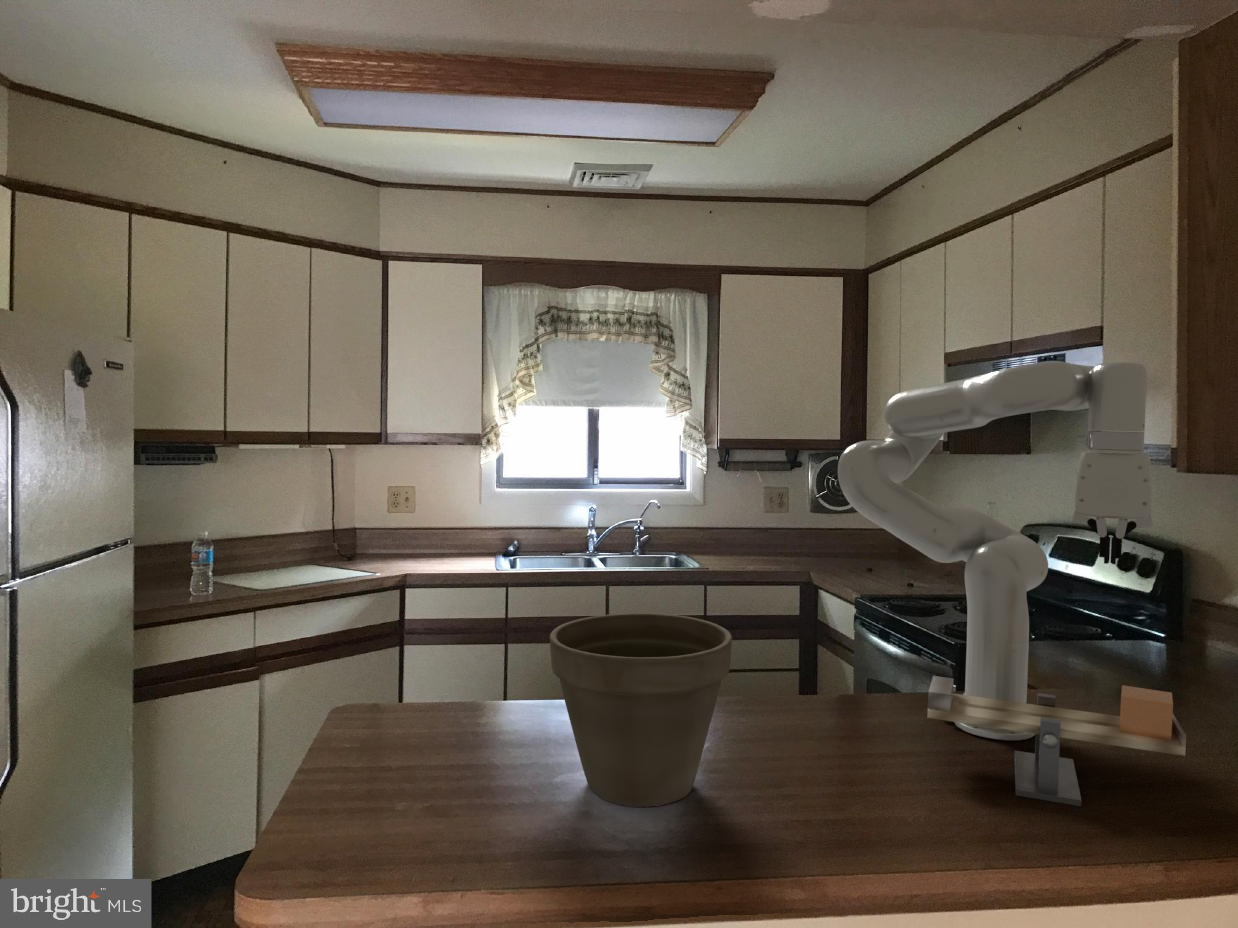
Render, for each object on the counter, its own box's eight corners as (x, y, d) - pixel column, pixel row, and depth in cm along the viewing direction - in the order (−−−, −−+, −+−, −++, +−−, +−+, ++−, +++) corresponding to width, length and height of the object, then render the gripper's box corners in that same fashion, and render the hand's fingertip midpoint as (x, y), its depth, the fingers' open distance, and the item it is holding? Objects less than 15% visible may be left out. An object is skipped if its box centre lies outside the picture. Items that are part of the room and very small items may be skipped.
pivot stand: (1015, 795, 120) (1018, 719, 119) (1014, 755, 135) (1017, 688, 134) (1081, 806, 117) (1084, 729, 116) (1072, 764, 131) (1075, 695, 131)
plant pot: (568, 836, 106) (571, 660, 105) (533, 760, 130) (535, 615, 129) (758, 815, 112) (762, 649, 111) (691, 746, 136) (694, 609, 135)
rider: (1118, 739, 119) (1121, 695, 119) (1119, 726, 125) (1122, 685, 124) (1170, 748, 116) (1173, 704, 116) (1169, 734, 121) (1171, 692, 121)
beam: (927, 717, 127) (928, 692, 127) (932, 698, 136) (933, 674, 136) (1185, 755, 114) (1186, 727, 114) (1171, 731, 123) (1173, 705, 123)
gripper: (1059, 442, 134) (1054, 561, 135) (1174, 445, 126) (1168, 571, 127) (1061, 442, 140) (1057, 555, 141) (1171, 444, 133) (1165, 564, 134)
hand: (1109, 562), depth 134 cm, fingers closed
